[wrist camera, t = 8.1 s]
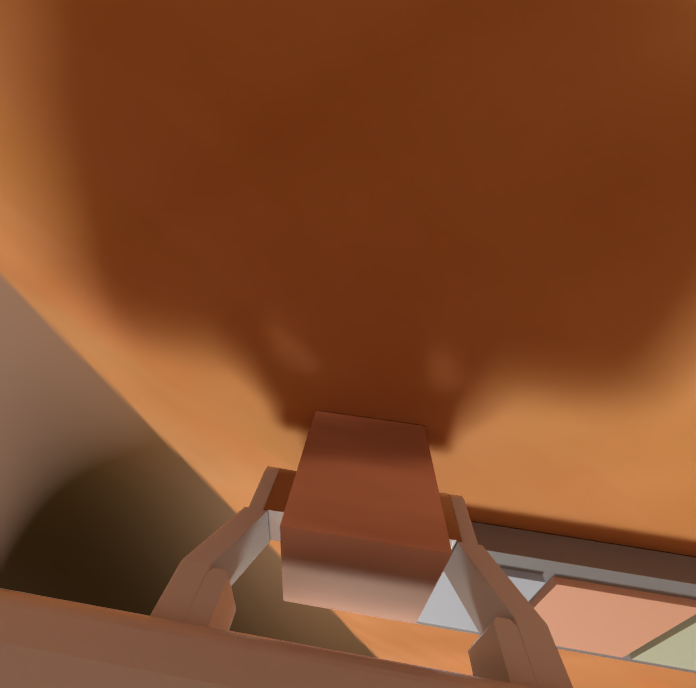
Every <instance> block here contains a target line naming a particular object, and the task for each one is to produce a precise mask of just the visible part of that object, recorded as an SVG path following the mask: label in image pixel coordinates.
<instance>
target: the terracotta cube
mask: <svg viewBox="0 0 696 688" xmlns="http://www.w3.org/2000/svg"><path fill="white" fill-rule="evenodd" d="M280 540H281V560H282V580H283V600H284V601H289V602H294V603H300V604H306V605H311V606H317V607H323V608H328V609H334V610H340V611H345V612H351V613H357V614H362V615H368V616H374V617H379V618H385V619H391V620H396V621H402V622H408V623H413V624H416V622H417V620H418V618H419V617H420V615H421V613H422V611H423V609H424V607H425V605H426V603H427V601H428V599H429V597H430V595H431V594H432V592H433V590H434V588H435V586H436V584H437V582H438V580H439V578H440V576H441V574H442V572H443V571H444V569H445V567H446V565H447V563H448V561H449V559H450V557H451V555H452V550H451V545H450V541H449V536H448V531H447V527H446V522H445V518H444V513H443V509H442V504H441V499H440V495H439V490H438V486H437V481H436V477H435V472H434V468H433V463H432V458H431V454H430V449H429V445H428V440H427V436H426V431H425V426H422V425H415V424H408V423H401V422H394V421H387V420H379V419H372V418H365V417H358V416H351V415H344V414H337V413H330V412H322V411H315V414H314V417H313V421H312V424H311V427H310V430H309V433H308V437H307V440H306V443H305V446H304V449H303V453H302V456H301V459H300V462H299V465H298V469H297V472H296V475H295V478H294V482H293V485H292V488H291V491H290V494H289V498H288V501H287V504H286V507H285V510H284V514H283V517H282V520H281V523H280Z"/></svg>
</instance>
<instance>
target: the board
mask: <svg viewBox="0 0 696 688" xmlns="http://www.w3.org/2000/svg"><path fill="white" fill-rule="evenodd" d="M471 523H472V526H473V530H474V533H475V536H476V539H477V543H478V545H482V546H483V547H484V548H485V549H486V551H487V552H488V553H489V554H490V555H491V557H492V558H493V559H494V560H495V562H496V563H497V564H498V565H499V566H500V568H501V569H502V570H503V571H504V573H505V574H506V575H507V576H508V577H509V579H510V580H511V581H512V582H513V584H514V585H515V586H516V587H517V588H518V590H519V591H520V592H521V593H522V594H523V596H524V597H525V598H526V599H527V601H528V602H529V603H530V604H531V605H532V607H533V608H534V609H535V610H536V612H537V613H538V614H539V615H540V616H541V618H542V619H543V620H544V621H545V623H546V624H547V625H548V628H549V630H550V633H551V635H552V638H553V640H554V642H555V645H556V647H557V649H563V650H568V651H574V652H580V653H585V654H591V655H597V656H602V657H608V658H613V659H619V660H625V661H630V662H636V663H642V664H647V665H653V666H658V667H664V668H670V669H675V670H681V671H686V672H692V673H696V557H690V556H684V555H678V554H671V553H665V552H659V551H652V550H646V549H640V548H634V547H627V546H621V545H615V544H608V543H602V542H596V541H589V540H583V539H577V538H570V537H564V536H558V535H551V534H545V533H539V532H533V531H526V530H520V529H514V528H507V527H501V526H495V525H488V524H482V523H476V522H471ZM416 623H417V624H422V625H428V626H433V627H439V628H445V629H450V630H456V631H462V632H467V633H473V634H478V635H480V633H479V632H478V630H477V628H476V626H475V625H474V623H473V621H472V619H471V618H470V616H469V614H468V613H467V611H466V609H465V607H464V606H463V604H462V602H461V600H460V599H459V597H458V595H457V593H456V592H455V590H454V588H453V586H452V585H451V583H450V581H449V580H448V578H447V576H446V574H445V573H444V571H443V572H442V574H441V576H440V578H439V580H438V582H437V584H436V586H435V588H434V590H433V592H432V594H431V595H430V597H429V599H428V601H427V603H426V605H425V607H424V609H423V611H422V613H421V615H420V617H419V618H418V620H417V622H416Z"/></svg>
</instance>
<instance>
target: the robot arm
mask: <svg viewBox="0 0 696 688" xmlns="http://www.w3.org/2000/svg"><path fill="white" fill-rule="evenodd" d="M296 472H297V471H293V470H287V469H281V468H275V467H269V466H268V467H267V468H266V470H265V471H264V474H263V476H262V478H261V481H260V483H259V485H258V487H257V490H256V492H255V494H254V497H253V499H252V501H251V503H250V506H249V507H244V508H243V509H242V510H241V511H239V512H238V513H237V514H236V515H235V516H234V517H233V518H231V519H230V520H229V521H228V522H227V523H225V524H224V525H223V526H222V527H221V528H219V529H218V530H217V531H216V532H215V533H213V534H212V535H211V536H210V537H209V538H207V539H206V540H205V541H204V542H203V543H201V544H200V545H199V546H198V547H197V548H196V549H194V550H193V551H192V552H191V553H190V554H188V555H187V556H186V557H185V558H184V559H182V560H181V562H180V564H179V566H178V568H177V569H176V571H175V573H174V574H173V576H172V578H171V580H170V582H169V583H168V585H167V587H166V589H165V590H164V592H163V594H162V596H161V597H160V599H159V601H158V603H157V605H156V606H155V608H154V610H153V612H152V613H151V615H150V616H146V615H141V614H136V613H131V612H125V611H120V610H114V609H109V608H104V607H98V606H93V605H87V604H81V603H77V602H71V601H66V600H61V599H55V598H49V597H44V596H38V595H33V594H28V593H22V592H17V591H12V590H6V589H0V688H573V686H572V684H571V681H570V679H569V677H568V674H567V672H566V669H565V667H564V664H563V662H562V659H561V657H560V655H559V652H558V650H557V647H556V645H555V642H554V640H553V638H552V635H551V633H550V630H549V628H548V625H547V624H546V623H545V621H544V620H543V619H542V618H541V616H540V615H539V614H538V613H537V612H536V610H535V609H534V608H533V607H532V605H531V604H530V603H529V602H528V601H527V599H526V598H525V597H524V596H523V594H522V593H521V592H520V591H519V590H518V588H517V587H516V586H515V585H514V584H513V582H512V581H511V580H510V579H509V577H508V576H507V575H506V574H505V573H504V571H503V570H502V569H501V568H500V566H499V565H498V564H497V563H496V562H495V560H494V559H493V558H492V557H491V555H490V554H489V553H488V552H487V551H486V549H485V548H484V547H483V546H482V545H478V543H477V539H476V536H475V533H474V530H473V526H472V523H471V520H470V517H469V514H468V510H467V507H466V504H465V501H464V499H463V497H462V496H457V495H450V494H446V493H439V495H440V499H441V504H442V509H443V513H444V518H445V522H446V527H447V531H448V536H449V541H450V545H451V550H452V555H451V557H450V559H449V561H448V563H447V565H446V567H445V569H444V573H445V574H446V576H447V578H448V580H449V581H450V583H451V585H452V586H453V588H454V590H455V592H456V593H457V595H458V597H459V599H460V600H461V602H462V604H463V606H464V607H465V609H466V611H467V613H468V614H469V616H470V618H471V619H472V621H473V623H474V625H475V626H476V628H477V630H478V632H479V633H480V635H481V636H480V637H479V638H478V639H477V640H476V642H475V643H474V644H473V645H472V646H471V648H470V649H469V651H468V652H469V657H470V662H471V667H472V672H473V676H470V675H465V674H460V673H454V672H449V671H443V670H438V669H433V668H427V667H422V666H416V665H411V664H406V663H400V662H395V661H389V660H384V659H379V658H373V657H368V656H362V655H357V654H352V653H346V652H341V651H335V650H330V649H325V648H319V647H314V646H308V645H303V644H298V643H292V642H287V641H282V640H276V639H270V638H265V637H259V636H255V635H249V634H244V633H238V632H233V631H229V628H230V626H231V623H232V620H233V617H234V614H235V611H236V607H235V603H234V598H233V594H232V589H231V586H232V584H233V583H234V582H235V581H236V580H237V579H238V577H239V576H240V575H241V574H242V573H243V572H244V571H245V569H246V568H247V567H248V566H249V565H250V564H251V562H252V561H253V560H254V559H255V558H256V557H257V555H258V554H259V553H260V552H261V551H262V550H263V549H264V547H265V546H266V545H267V544H268V543H269V542H270V540H276V541H281V540H280V523H281V520H282V517H283V514H284V510H285V507H286V504H287V501H288V498H289V494H290V491H291V488H292V485H293V482H294V478H295V475H296Z"/></svg>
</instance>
